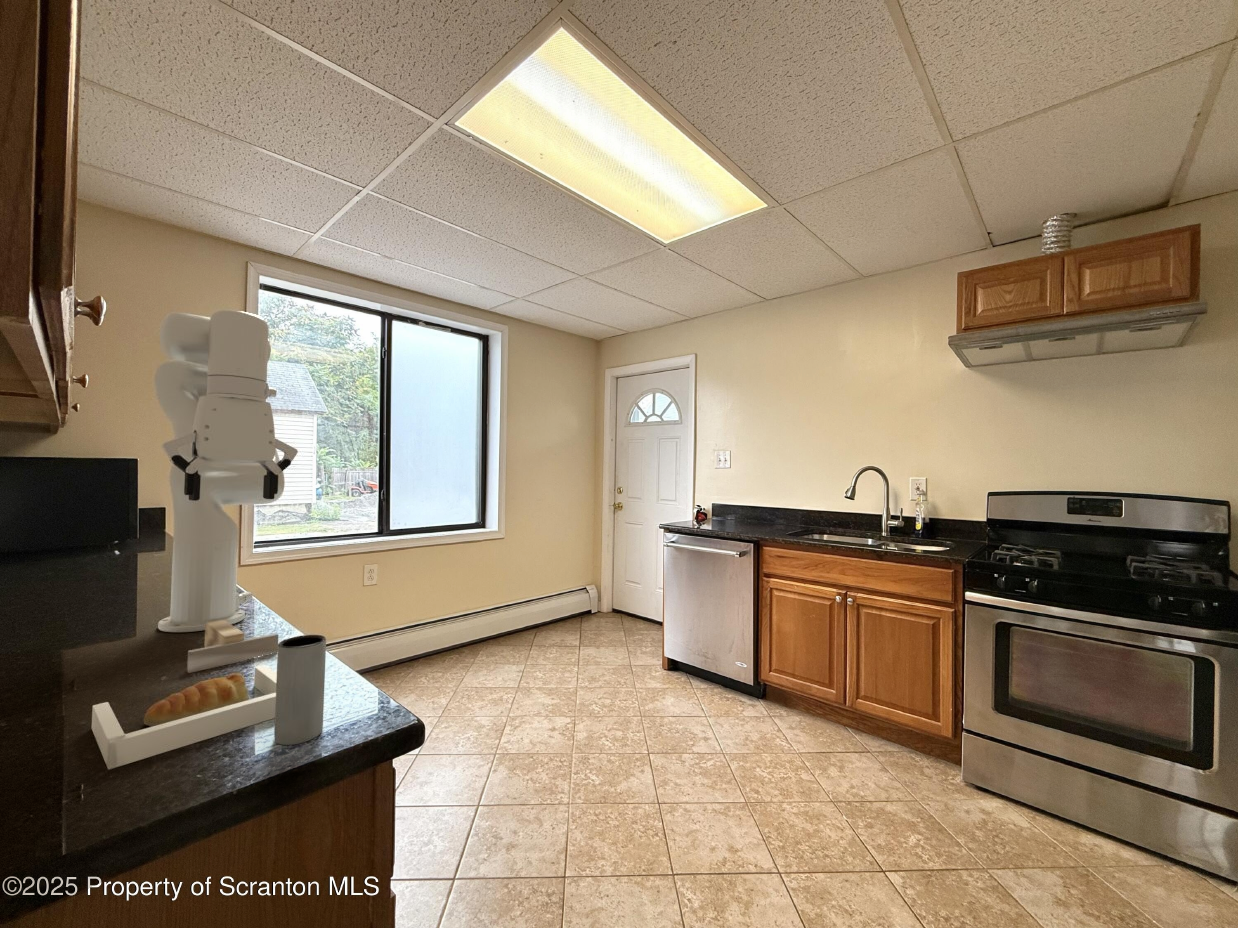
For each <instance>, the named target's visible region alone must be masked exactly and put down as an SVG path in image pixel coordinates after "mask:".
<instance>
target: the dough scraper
mask: <svg viewBox="0 0 1238 928" xmlns="http://www.w3.org/2000/svg"><path fill="white" fill-rule="evenodd" d="M278 644H279V634H278V633H271V634H266V635H261V636H257V637H251V638H247V639H245V632H243V631H242V630H240V629H239V628H237V627H236V626H234V624H230V623H228V622H227V621H225V620H224V619H223V620H217V621H211V622H205V630H204V647H201V648H195V649H192V650H191V649H190V650H188V651H187V664H186V665H187V666H186V668H187V669H186V673H188V674H190V673H195V672H198V671H199V672H200V671H204V670H207V669H213V668H216V667H222V666H225V665H230V664H234V663H235V662H236V663H239V661H240V662H243V661H242V660H245V661H248V660H247V659H249V660H252V659H251V658H254V657H258V656H262V655H267V654H271V653H276V654H278V653H277V652H278ZM271 655H272V654H271ZM267 656H268V655H267ZM262 657H263V656H262ZM258 658H259V657H258ZM254 659H255V658H254Z"/></svg>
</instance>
